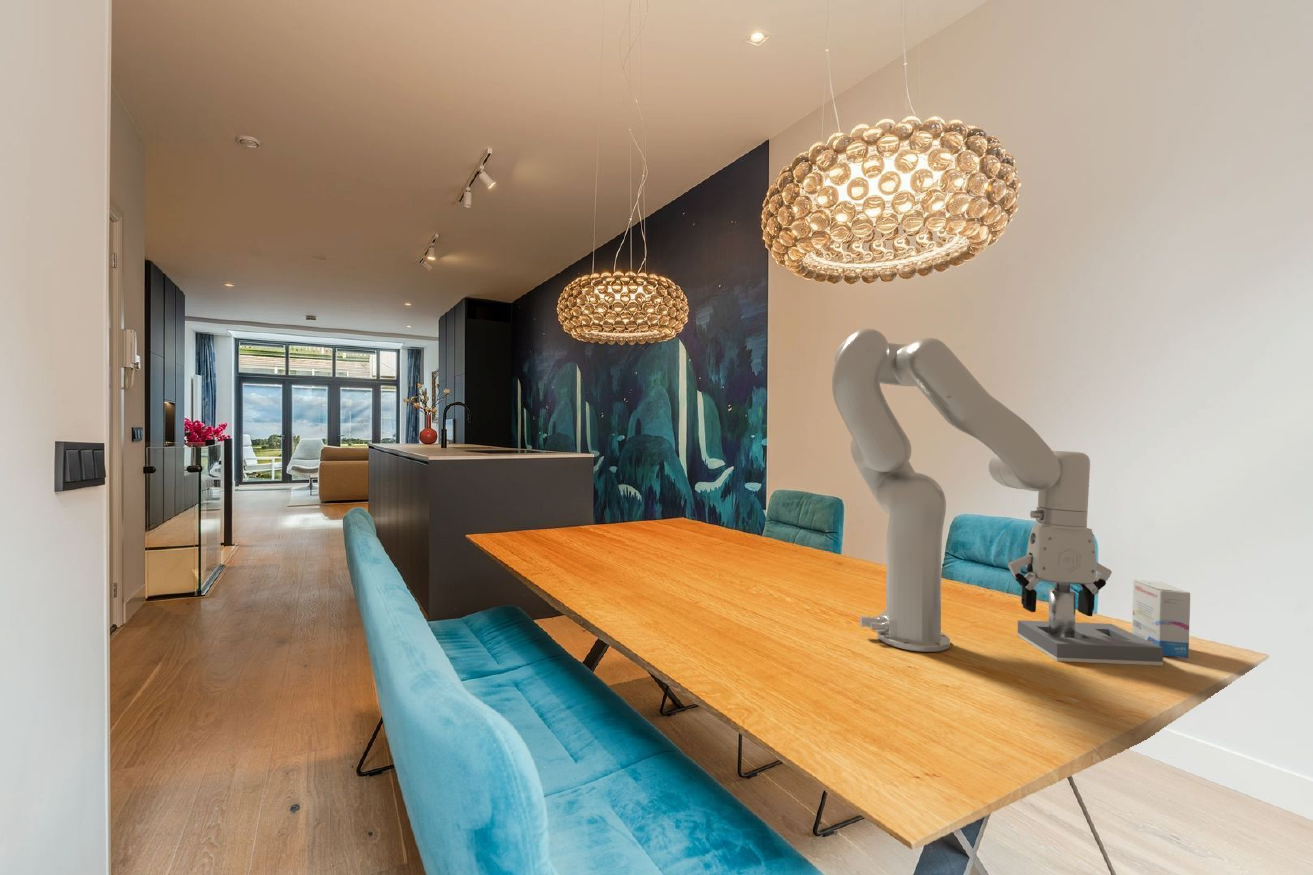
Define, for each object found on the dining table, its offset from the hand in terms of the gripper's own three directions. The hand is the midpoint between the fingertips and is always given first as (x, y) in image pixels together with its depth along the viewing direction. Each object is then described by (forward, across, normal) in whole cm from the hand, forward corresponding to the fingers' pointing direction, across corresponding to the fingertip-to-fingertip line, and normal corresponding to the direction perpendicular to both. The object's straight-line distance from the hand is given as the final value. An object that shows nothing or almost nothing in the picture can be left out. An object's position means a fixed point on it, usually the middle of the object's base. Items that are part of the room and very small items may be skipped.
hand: (1056, 612), depth 107 cm
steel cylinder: (+6, +1, 0) cm, 6 cm away
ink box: (+6, +19, +2) cm, 20 cm away
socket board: (+6, +5, 0) cm, 8 cm away
